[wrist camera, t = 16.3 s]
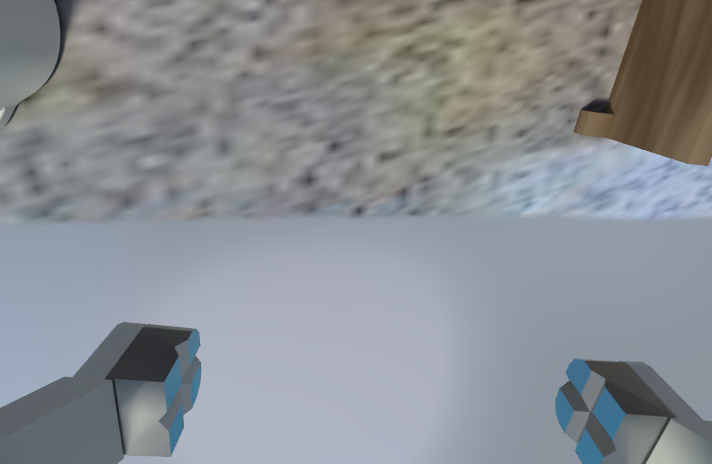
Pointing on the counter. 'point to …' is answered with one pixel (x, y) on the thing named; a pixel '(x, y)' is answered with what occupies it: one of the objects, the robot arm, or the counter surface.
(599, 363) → the robot arm
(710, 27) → the walnut screen
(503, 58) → the counter surface
